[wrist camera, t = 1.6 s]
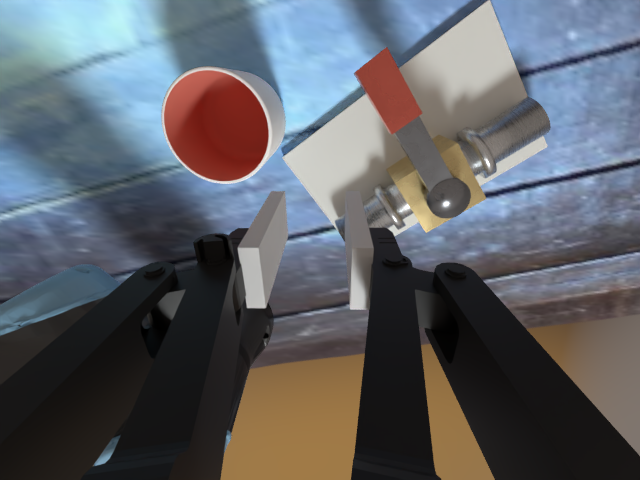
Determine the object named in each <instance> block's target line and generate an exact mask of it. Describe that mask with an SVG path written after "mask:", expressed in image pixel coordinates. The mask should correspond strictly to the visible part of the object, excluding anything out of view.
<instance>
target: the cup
mask: <svg viewBox="0 0 640 480" xmlns="http://www.w3.org/2000/svg"><path fill="white" fill-rule="evenodd" d="M161 117H162V127H163V132H164V135H165V138H166V141H167V143H168V145H169V147H170V149H171V151H172V152H173V154H174V155H175V157H176V158H177V159H178V160H179V162H180V163H181V164H182V165H183V166H184V167H185V168H187V169H188V170H189V171H190V172H192V173H193V174H195V175H196V176H198V177H200V178H202V179H204V180H207V181H210V182H214V183H221V184H231V183H237V182H240V181H243V180H246V179H248V178H249V177H251V176H252V175H254V174H255V173H256V172H257V171H258V170H259V169H260V168H261V167H262V166H263V165H264V164H265V163H266V162H267V160H268V159H269V158H270V157H271V156H272V155H273V154H274V153H275V151H276V150H277V149H278V147H279V146H280V144H281V142H282V140H283V137H284V133H285V126H286V120H285V113H284V109H283V106H282V103H281V101H280V99H279V97H278V95H277V94H276V92H275V91H274V90H273V88H272V87H271V86H270V85H269V84H268V83H267V82H265V81H264V80H263V79H261V78H260V77H258V76H256V75H254V74H251V73H248V72H244V71H238V70H232V69H226V68H220V67H214V66H203V67H197V68H194V69H191V70H189V71H187V72H185V73H183V74H182V75H180V76H179V77H178V78H177V79H176V80H175V81H174V82H173V83H172V84H171V86H170V87H169V89H168V91H167V93H166V95H165V97H164V101H163V105H162V116H161Z"/></svg>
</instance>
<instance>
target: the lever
mask: <svg viewBox="0 0 640 480" xmlns="http://www.w3.org/2000/svg"><path fill="white" fill-rule="evenodd" d="M354 75H355V77H356V78H357V80H358V82H359V83H360V85H361V87H362V88H363V90H364V92H365V93H366V95H367V97H368V98H369V100H370V102H371V103H372V105H373V107H374V108H375V110H376V112H377V113H378V115H379V117H380V119H381V120H382V122H383V124H384V125H385V127H386V129H387V130H388V132H389V133H391V134H394V135H395V137H396V138H397V140H398V142H399V144H400V145H401V147H402V149H403V150H404V152H405V154H406V155H407V157H408V159H409V160H410V162H411V164H412V166H413V167H414V169H415V171H416V172H417V174H418V176H419V177H420V179H421V181H422V182H423V184H424V186H425V191H424V201H425V204H426V205H427V207H428V208H429V209H430V210H431V212H432V213H433V214H434V215H436V216H437V217H440V218H453V217H456V216H458V215H459V214H461V213H462V212H463V211H464V210H465V209H466V208H467V206H468V205H469V203H470V199H471V192H470V189H469V187H468V186H467V184H465V183H464V182H463V181H462V180H460V179H459V178H457V177H456V176H453V175H451V173H450V172H449V170H448V168H447V166H446V164H445V162H444V161H443V159H442V157H441V155H440V153H439V151H438V150H437V148H436V146H435V144H434V142H433V140H432V139H431V137H430V135H429V133H428V131H427V129H426V128H425V126H424V124H423V122H422V120H421V118H420V116H419V115H421V114H422V111H421V109H420V108H419V106H418V104H417V102H416V100H415V98H414V96H413V95H412V93H411V91H410V89H409V87H408V85H407V83H406V82H405V80H404V78H403V76H402V74H401V72H400V70H399V69H398V67H397V65H396V63H395V61H394V59H393V57H392V56H391V54H390V52H389V50H388V48H387V47H386V48H385V49H384V50H382V51H381V52H380V53H379V54H377V55H376V56H375V57H374V58H372V59H371V60H370V61H369V62H367V63H366V64H365V65H364V66H362V67H361V68H360V69H359V70H357V71H356V72H355V73H354Z"/></svg>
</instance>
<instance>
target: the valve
mask: <svg viewBox="0 0 640 480" xmlns="http://www.w3.org/2000/svg"><path fill="white" fill-rule="evenodd" d="M549 131H550V121H549V118H548V116H547V114H546V112H545V110H544V109H543V108H542V106H541V105H540V104H539V103H538V102H537V101H535V100H534V99H532V98H529V97H526V98H524V99H522V100H521V101H519V102H518V103H516V104H515V105H513V106H511V107H510V108H508V109H507V110H505V111H504V112H502V113H501V114H499V115H498V116H496V117H494V118H493V119H491V120H490V121H488V122H487V123H485V124H484V125H482V126H480V127H479V128H477V129H476V130H473V129H472V128H470V127H465V128H464V129H462V130H461V131H459V132H458V133H457V135H456V137H457V139H458V141H457V142H455V141H452V140H450V139H448V138H446V137H444V136H441V135H437V136H436V137H434V138H433V139H432V140H433V142H434V144H435V146H436V148H437V150H438V151H439V153H440V155H441V157H442V159H443V161H444V162H445V164H446V166H447V168H448V170H449V172H450V173H451V175H453V176H456V177H457V178H459V179H460V180H462V181H463V182H464V183H465V184H467V186H468V187H469V189H470V192H471V199H470V203H469V205H468V206H467V208H466V209H465V210H467V209H469V208H471V207H472V206H474V205H476V204H478V203H480V202H481V201H483V200H485V199H486V197H485V195H484V193H483V191H482V189H481V187H480V185H479V183H478V181H477V179H476V178H475V176H477V175H478V174H479V175H480V176H481V177H483V178H488V177H489V176H491V175H493V174H494V173H496V172H497V166H496V164H497V163H499V162H500V161H502V160H504V159H505V158H507V157H509V156H510V155H512V154H514V153H515V152H517V151H519V150H520V149H522V148H524V147H525V146H527V145H529V144H530V143H532V142H534V141H535V140H537V139H539V138H540V137H542V136H544V135H545V134H547V133H548V132H549ZM386 170H387V172H388V173H389V175H390V177H391V178H392V180H393V181H394V182H393V183H392V184H390V185H389V186H387V187H386V188H384V189H383V187H382V186H381V184H378V185H377V186H375V187H374V188H372V189H373V191H374V193H375V195H373V196H372V197H370V198H369V199H367V200H365V201H364V202H362V203H363V207H364V211H365V215H366V219H367V223H368V227H369V228H387V229H388V228H390V227H391V226H393V225H395V227H396V228H397V229H398V230H399V229H401V228H403V227H404V226H406V224H405V222H404V220H403V219H405V218H406V217H408V216H410V215H411V214H413V213H414V215H415V216H416V218H417V219H418V221H419V222H420V224H421V226H422V227H423V229H424V230H425V232H426V233H427V232H428V231H430V230H432V229H434V228H436V227H437V226H439V225H441V224H443V223H444V222H446V221H448V220H450V219H451V218H440V217H437V216H436V215H434V214H433V213H432V212H431V210H430V209H429V208H428V207H427V205H426V204H425V201H424V191H425V186H424V184H423V182H422V181H421V179H420V177H419V176H418V174H417V172H416V171H415V169H414V167H413V166H412V164H411V162H410V160H409V159H408V157H407V156H406V157H404V158H402V159H401V160H399V161H398V162H396V163H395V164H393V165H392V166H390V167H389V168H387V169H386ZM465 210H464V211H465ZM464 211H463V212H464ZM335 224H336V227H337V229H338V231H339V233H340V235H341V236H342V238H343V239H344V241H345V214H344V215H342V216H341V217H339V218H337V219H336V220H335Z"/></svg>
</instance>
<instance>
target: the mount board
mask: <svg viewBox="0 0 640 480" xmlns="http://www.w3.org/2000/svg"><path fill="white" fill-rule="evenodd" d="M398 69H399V70H400V72H401V74H402V76H403V78H404V80H405V82H406V83H407V85H408V87H409V89H410V91H411V93H412V95H413V96H414V98H415V100H416V102H417V104H418V106H419V108H420V109H421V111H422V114H421V115H419V116H420V118H421V120H422V122H423V124H424V126H425V128H426V129H427V131H428V133H429V135H430V137H431V139H433V138H434V137H436V136H437V135H441V136H444V137H446V138H448V139H450V140H452V141H455V142H457V141H458V139H457V137H456V135H457V133H458V132H459V131H461V130H462V129H464V128H465V127H470V128H472V129H473V130H476V129H477V128H479V127H480V126H482V125H484V124H485V123H487V122H488V121H490V120H491V119H493V118H494V117H496V116H498V115H499V114H501V113H502V112H504V111H505V110H507V109H508V108H510V107H511V106H513V105H515V104H516V103H518V102H519V101H521V100H522V99H524V98H526V97H528V96H527V93H526V91H525V88H524V85H523V83H522V80H521V78H520V75H519V73H518V70H517V68H516V65H515V63H514V60H513V58H512V55H511V53H510V50H509V47H508V45H507V42H506V40H505V37H504V35H503V32H502V30H501V27H500V25H499V22H498V20H497V17H496V15H495V12H494V9H493V7H492V4H491V2H490V0H488V1H486V2H484V3H483V4H482V5H481V6H479V7H478V8H477V9H475V10H474V11H473V12H471V13H470V14H469V15H467V16H466V17H465V18H464V19H462V20H461V21H460V22H458V23H457V24H456V25H454V26H453V27H452V28H450V29H449V30H448V31H447V32H445V33H444V34H443V35H441V36H440V37H439V38H437V39H436V40H435V41H433V42H432V43H431V44H430V45H428V46H427V47H426V48H424V49H423V50H422V51H420V52H419V53H418V54H416V55H415V56H414V57H413V58H411V59H410V60H409V61H407V62H406V63H405V64H403V65H402V66H401V67H399V68H398ZM546 147H548V146H547V144H546V141H545V139H544V136H542V137H540V138H539V139H537V140H535V141H534V142H532V143H530V144H529V145H527V146H525V147H524V148H522V149H520V150H519V151H517V152H515V153H514V154H512V155H510V156H509V157H507V158H505V159H504V160H502V161H500V162H499V163H497V164H496V166H497V172H496V173H494V174H493V175H491V176H489V177H488V178H483V177H481V176H480V175H479V174H478V175H477V176H475V178H476V179H477V181H478V183H479V185H480V186H481V185H483V184H485V183H486V182H488V181H490V180H491V179H493V178H495V177H497V176H498V175H500V174H502V173H503V172H505V171H507V170H509V169H510V168H512V167H514V166H515V165H517V164H519V163H521V162H522V161H524V160H526V159H527V158H529V157H531V156H533V155H534V154H536V153H538V152H539V151H541V150H543V149H545V148H546ZM406 156H407V155H406V154H405V152H404V150H403V149H402V147H401V145H400V144H399V142H398V140H397V138H396V137H395V135H394V134H391V133H389V132H388V130H387V129H386V127H385V125H384V124H383V122H382V120H381V119H380V117H379V115H378V113H377V112H376V110H375V108H374V107H373V105H372V103H371V102H370V100H369V98H368V97H367V95H366V93H365V94H364V95H363V96H362V97H360V98H359V99H358V100H356V101H355V102H354V103H352V104H351V105H350V106H348V107H347V108H346V109H345V110H343V111H342V112H341V113H339V114H338V115H337V116H335V117H334V118H333V119H331V120H330V121H329V122H328V123H326V124H325V125H324V126H322V127H321V128H320V129H318V130H317V131H316V132H314V133H313V134H312V135H311V136H309V137H308V138H307V139H305V140H304V141H303V142H301V143H300V144H299V145H297V146H296V147H295V148H294V149H292V150H291V151H290V152H288V153H287V154H286V155H284V156H283V159H284V161H285V162H286V163H287V165H288V166H289V167H290V169H291V170H292V171H293V173H294V174H295V175H296V176H297V178H298V179H299V180H300V182H301V183H302V184H303V186H304V187H305V188H306V190H307V191H308V192H309V194H310V195H311V196H312V197H313V199H314V200H315V201H316V203H317V204H318V205H319V207H320V208H321V209H322V211H323V212H324V213H325V214H326V216H327V217H328V218H329V220H330V221H331V222H332V224H333V225H334V226H335V228H336V229H337V227H336V224H335V220H336V219H337V218H339V217H341V216H342V215H344V214H345V197H346V191H360V195H361V199H362V202H364V201H365V200H367V199H369V198H370V197H372V196H373V195H375V193H374V191H373V189H372V188H374V187H375V186H377V185H378V184H381V186H382V187H383V189H384V188H386V187H387V186H389V185H390V184H392V183H393V182H394V181H393V180H392V178H391V177H390V175H389V173H388V172H387V170H386V169H387V168H389V167H390V166H392V165H393V164H395V163H396V162H398V161H399V160H401V159H402V158H404V157H406ZM403 220H404V222H405V224H406V226H404V227H403V228H401V229H399V230H398V229H397V228H396V227H395V225H393V226H391V227H390V228H388V229H389V230H390V231H392V232H393V234H394V236H396V235H397V234H399V233H401V232H402V231H404V230H406V229H408V228H409V227H411V226H413V225H414V224H416V223H418V222H419V221H418V219H417V218H416V216H415V215H414V213H413V214H411V215H410V216H408V217H406V218H405V219H403ZM337 230H338V229H337ZM338 232H339V231H338Z"/></svg>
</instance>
